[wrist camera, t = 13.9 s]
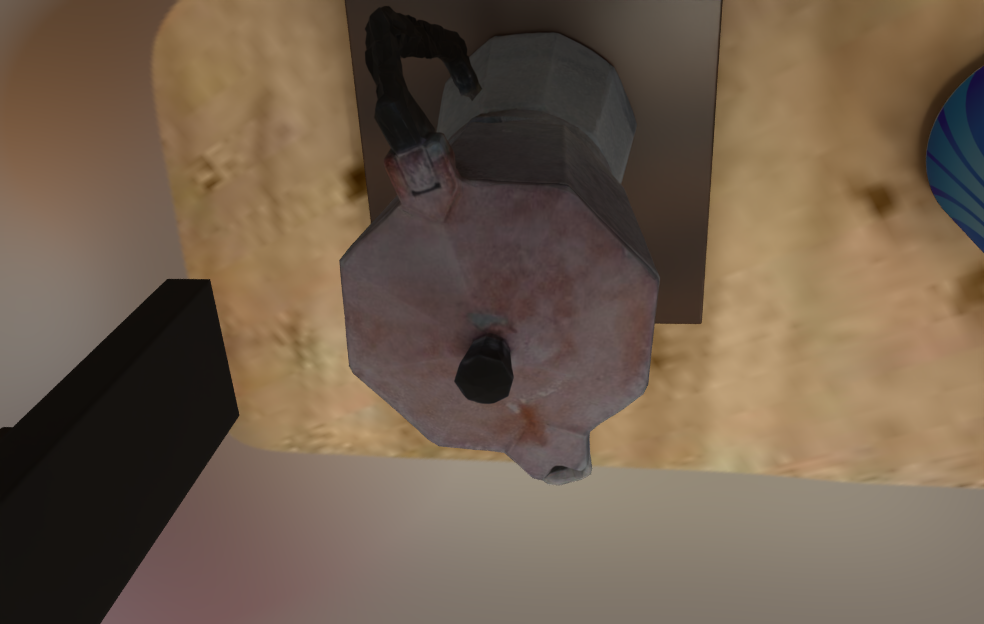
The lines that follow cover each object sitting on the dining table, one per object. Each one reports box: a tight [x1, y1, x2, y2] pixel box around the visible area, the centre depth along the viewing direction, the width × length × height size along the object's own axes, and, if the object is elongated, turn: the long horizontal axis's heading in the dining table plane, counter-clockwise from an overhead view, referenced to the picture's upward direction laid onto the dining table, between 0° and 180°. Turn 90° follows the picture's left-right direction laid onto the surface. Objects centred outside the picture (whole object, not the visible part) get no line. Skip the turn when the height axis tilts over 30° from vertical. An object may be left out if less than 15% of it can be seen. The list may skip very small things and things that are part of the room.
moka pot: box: [339, 6, 660, 485], centre depth 31 cm, size 10×15×20 cm, turn 26°
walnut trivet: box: [345, 0, 723, 324], centre depth 40 cm, size 20×16×1 cm
